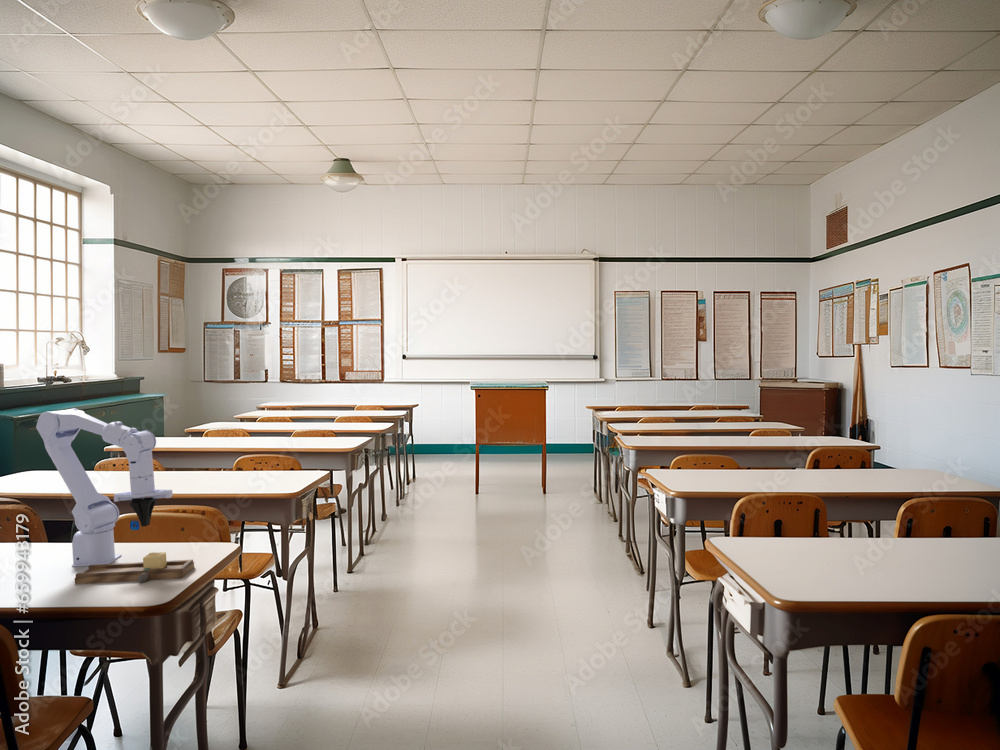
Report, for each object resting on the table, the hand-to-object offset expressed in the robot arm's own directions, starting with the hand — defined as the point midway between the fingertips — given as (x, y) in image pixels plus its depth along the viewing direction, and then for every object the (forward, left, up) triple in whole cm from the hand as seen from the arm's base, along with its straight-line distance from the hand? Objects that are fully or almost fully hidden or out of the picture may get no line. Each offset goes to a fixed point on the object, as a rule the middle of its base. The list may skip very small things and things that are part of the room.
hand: (145, 525), depth 178 cm
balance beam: (+1, -10, -10) cm, 14 cm away
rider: (+6, -10, -9) cm, 15 cm away
